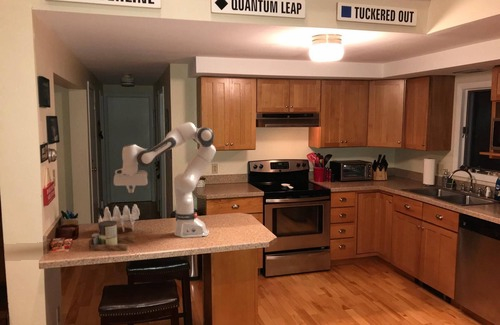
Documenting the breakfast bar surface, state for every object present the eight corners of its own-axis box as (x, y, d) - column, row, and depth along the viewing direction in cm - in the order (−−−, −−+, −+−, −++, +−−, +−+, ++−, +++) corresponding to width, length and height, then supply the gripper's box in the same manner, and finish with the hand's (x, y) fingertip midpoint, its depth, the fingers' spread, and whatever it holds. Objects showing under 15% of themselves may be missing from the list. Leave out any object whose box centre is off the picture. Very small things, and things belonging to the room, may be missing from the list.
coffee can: (96, 249, 227) (95, 225, 226) (102, 243, 237) (101, 220, 236) (115, 248, 228) (114, 224, 226) (119, 243, 238) (118, 220, 237)
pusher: (103, 242, 238) (102, 231, 238) (95, 248, 226) (95, 237, 226) (97, 242, 238) (96, 231, 237) (89, 249, 226) (89, 237, 226)
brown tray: (134, 241, 241) (133, 232, 240) (126, 250, 225) (126, 240, 224) (99, 242, 240) (98, 232, 240) (89, 250, 224) (88, 240, 224)
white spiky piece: (99, 238, 262) (138, 231, 273) (101, 233, 247) (142, 226, 258) (96, 211, 267) (134, 206, 278) (97, 204, 252) (137, 199, 263)
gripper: (148, 169, 247) (149, 191, 249) (115, 169, 247) (116, 191, 248) (146, 170, 241) (146, 193, 242) (112, 171, 240) (113, 193, 242)
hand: (131, 192), depth 245 cm, fingers closed
